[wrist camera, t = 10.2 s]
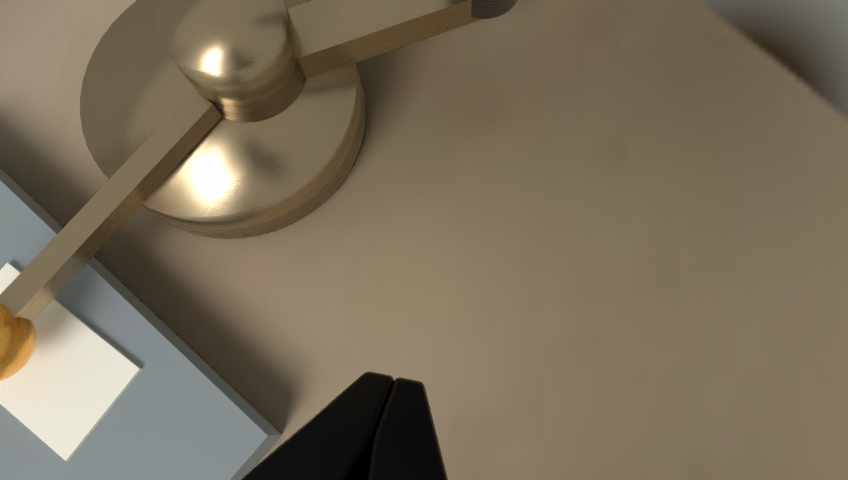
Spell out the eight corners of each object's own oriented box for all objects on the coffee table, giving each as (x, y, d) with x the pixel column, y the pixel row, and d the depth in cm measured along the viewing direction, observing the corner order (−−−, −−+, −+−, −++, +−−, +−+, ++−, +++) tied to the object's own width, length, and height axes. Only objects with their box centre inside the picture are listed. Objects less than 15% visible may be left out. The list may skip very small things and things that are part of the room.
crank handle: (22, 400, 20) (-540, 377, 9) (-29, 99, 23) (-487, -206, 12) (590, 193, 21) (749, -68, 10) (466, -67, 24) (478, -491, 13)
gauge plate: (281, 434, 19) (266, 435, 18) (142, 596, 18) (113, 613, 17) (-28, 141, 23) (-64, 120, 21) (-161, 263, 22) (-210, 250, 20)
